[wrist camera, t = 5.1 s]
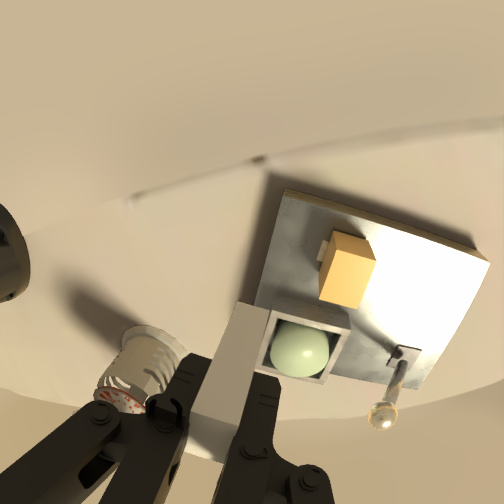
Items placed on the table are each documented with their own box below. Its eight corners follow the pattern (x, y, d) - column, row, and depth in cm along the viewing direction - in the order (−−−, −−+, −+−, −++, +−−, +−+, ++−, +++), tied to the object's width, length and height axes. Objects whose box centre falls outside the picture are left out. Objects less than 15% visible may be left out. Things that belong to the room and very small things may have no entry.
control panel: (246, 333, 34) (235, 367, 29) (285, 188, 28) (279, 203, 23) (411, 372, 33) (421, 405, 28) (477, 250, 26) (502, 275, 21)
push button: (268, 348, 30) (264, 369, 28) (282, 307, 28) (279, 326, 26) (317, 361, 30) (317, 382, 27) (335, 321, 28) (337, 341, 25)
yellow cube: (318, 274, 27) (318, 299, 23) (333, 230, 25) (336, 249, 21) (351, 283, 26) (357, 309, 23) (368, 240, 25) (377, 261, 21)
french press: (185, 330, 36) (76, 526, 13) (198, 398, 40) (130, 562, 17) (113, 320, 37) (-10, 471, 15) (134, 386, 42) (51, 525, 19)
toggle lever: (388, 365, 29) (359, 427, 22) (398, 348, 28) (372, 409, 21) (407, 375, 28) (384, 440, 20) (419, 358, 27) (399, 422, 20)
